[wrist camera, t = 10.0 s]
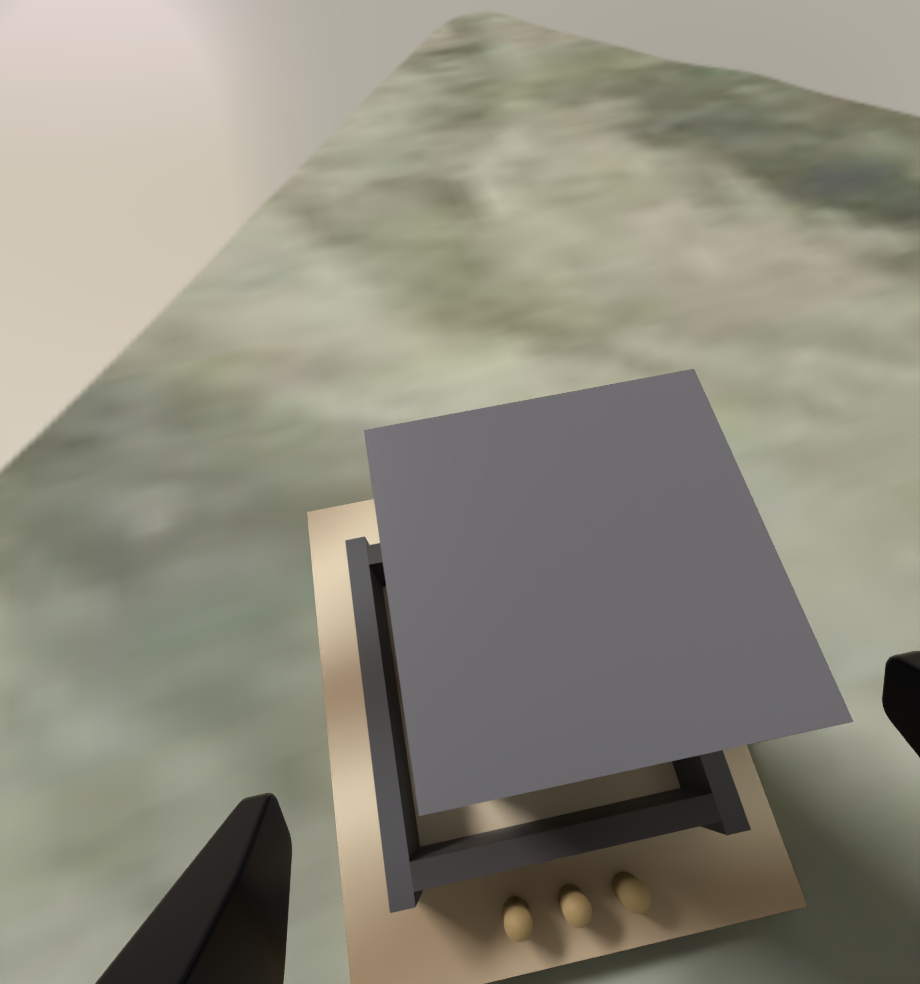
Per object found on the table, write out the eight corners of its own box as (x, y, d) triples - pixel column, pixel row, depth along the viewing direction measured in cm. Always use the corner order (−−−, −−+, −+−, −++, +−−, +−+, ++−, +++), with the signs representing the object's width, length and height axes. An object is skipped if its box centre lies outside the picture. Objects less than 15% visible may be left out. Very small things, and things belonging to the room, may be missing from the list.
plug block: (613, 743, 17) (853, 722, 6) (462, 775, 17) (418, 815, 6) (571, 594, 19) (694, 368, 8) (435, 622, 18) (364, 430, 8)
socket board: (789, 897, 16) (865, 933, 13) (361, 999, 15) (328, 1064, 12) (628, 460, 22) (653, 410, 18) (314, 522, 21) (284, 481, 18)
